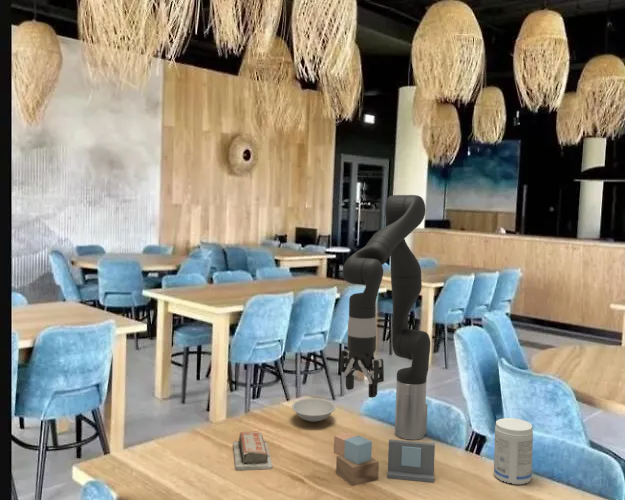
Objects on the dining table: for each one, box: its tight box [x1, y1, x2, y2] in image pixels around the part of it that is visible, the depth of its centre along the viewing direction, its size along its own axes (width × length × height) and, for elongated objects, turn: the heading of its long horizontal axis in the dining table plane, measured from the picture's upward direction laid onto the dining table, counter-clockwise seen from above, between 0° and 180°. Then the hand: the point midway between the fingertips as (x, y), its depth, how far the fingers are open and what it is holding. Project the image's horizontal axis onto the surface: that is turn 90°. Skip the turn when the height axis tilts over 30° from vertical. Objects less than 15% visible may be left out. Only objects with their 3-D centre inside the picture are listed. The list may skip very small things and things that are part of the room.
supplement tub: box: [493, 417, 534, 485], centre depth 160 cm, size 10×10×15 cm
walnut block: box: [335, 455, 380, 487], centre depth 159 cm, size 8×8×5 cm
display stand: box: [386, 438, 436, 483], centre depth 160 cm, size 6×12×9 cm, turn 80°
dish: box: [291, 397, 336, 423], centre depth 199 cm, size 18×14×5 cm
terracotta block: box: [333, 431, 356, 456], centre depth 174 cm, size 5×5×5 cm
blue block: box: [344, 435, 373, 465], centre depth 158 cm, size 5×5×5 cm
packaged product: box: [232, 430, 274, 471], centre depth 170 cm, size 18×5×10 cm
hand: (360, 393), depth 161 cm, fingers open, 8 cm apart
